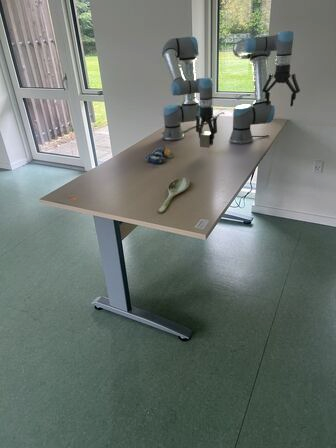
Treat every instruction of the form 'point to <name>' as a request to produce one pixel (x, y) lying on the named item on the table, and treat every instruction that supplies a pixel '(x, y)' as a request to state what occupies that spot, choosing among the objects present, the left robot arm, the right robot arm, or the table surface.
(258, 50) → the right robot arm
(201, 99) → the left robot arm
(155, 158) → the blue toy gun
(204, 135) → the grey metal block
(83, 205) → the table surface
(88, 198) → the table surface
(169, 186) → the spoon
